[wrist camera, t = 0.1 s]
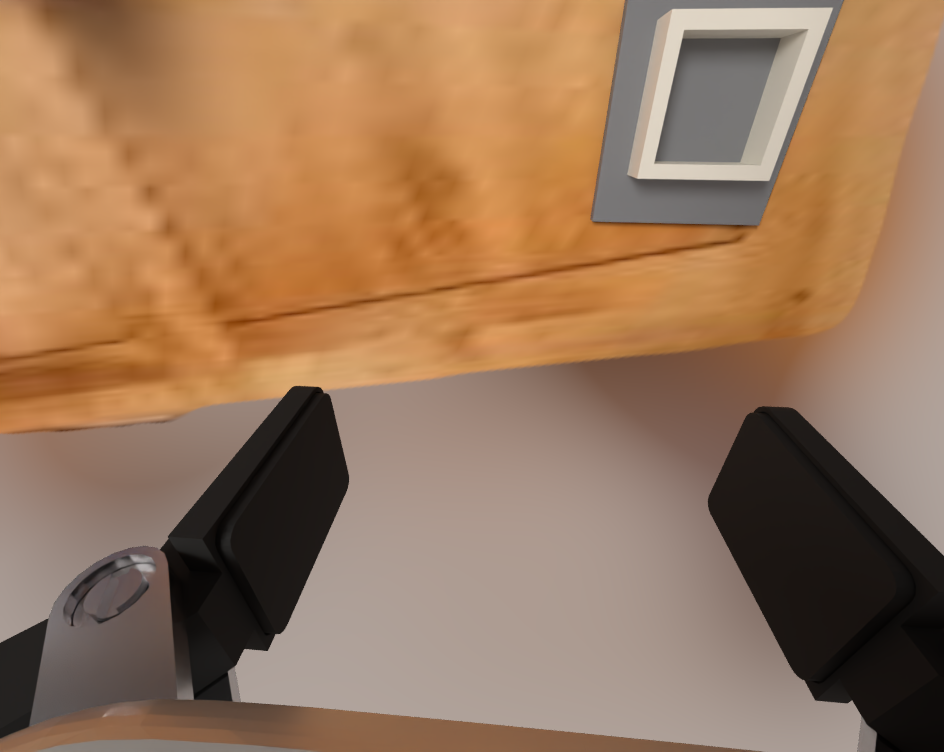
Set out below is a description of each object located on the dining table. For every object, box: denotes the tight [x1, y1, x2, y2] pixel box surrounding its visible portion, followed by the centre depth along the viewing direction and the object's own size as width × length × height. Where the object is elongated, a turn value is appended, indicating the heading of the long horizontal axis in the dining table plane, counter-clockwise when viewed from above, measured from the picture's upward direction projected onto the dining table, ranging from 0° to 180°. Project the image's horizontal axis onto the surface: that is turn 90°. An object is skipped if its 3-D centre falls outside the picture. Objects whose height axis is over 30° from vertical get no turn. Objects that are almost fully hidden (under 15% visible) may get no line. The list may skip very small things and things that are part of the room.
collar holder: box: [591, 0, 844, 225], centre depth 29 cm, size 17×14×4 cm
